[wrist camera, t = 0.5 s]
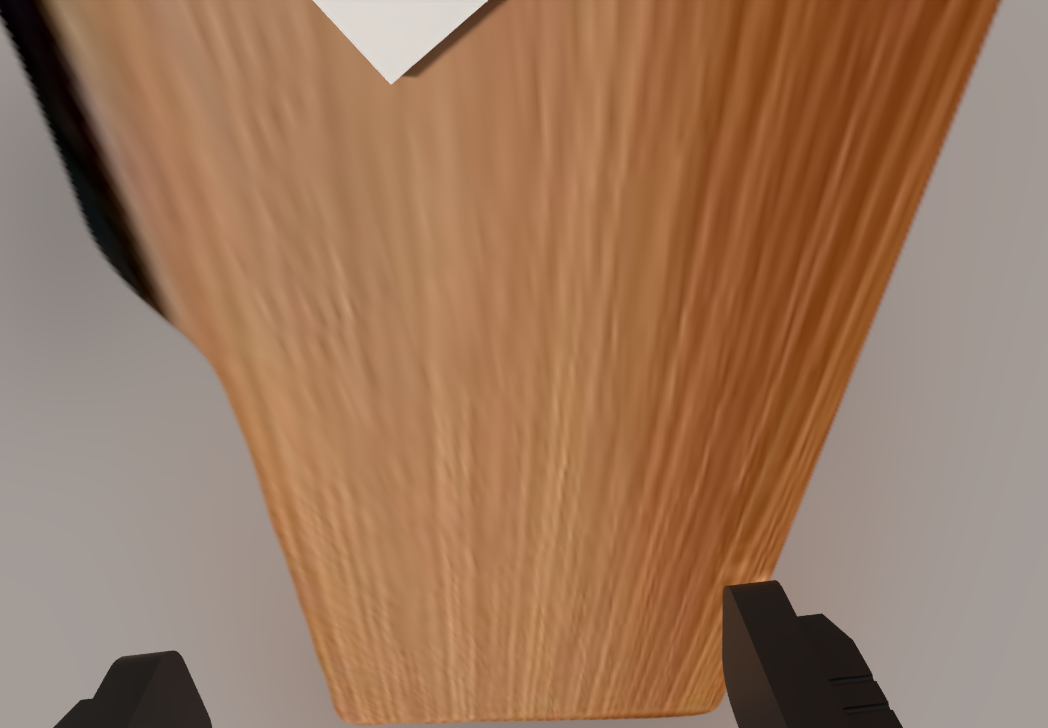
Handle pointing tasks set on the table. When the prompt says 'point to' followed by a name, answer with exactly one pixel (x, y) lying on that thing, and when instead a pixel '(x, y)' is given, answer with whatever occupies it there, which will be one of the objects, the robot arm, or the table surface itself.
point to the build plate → (397, 28)
